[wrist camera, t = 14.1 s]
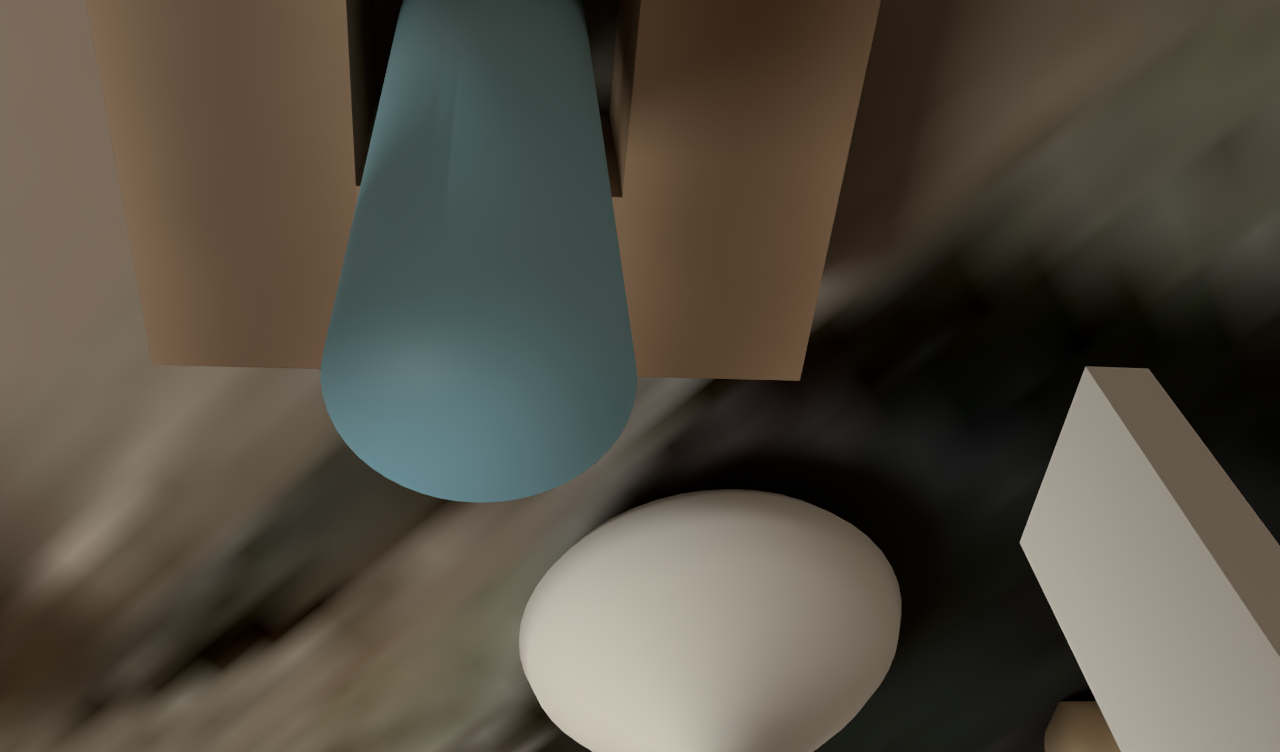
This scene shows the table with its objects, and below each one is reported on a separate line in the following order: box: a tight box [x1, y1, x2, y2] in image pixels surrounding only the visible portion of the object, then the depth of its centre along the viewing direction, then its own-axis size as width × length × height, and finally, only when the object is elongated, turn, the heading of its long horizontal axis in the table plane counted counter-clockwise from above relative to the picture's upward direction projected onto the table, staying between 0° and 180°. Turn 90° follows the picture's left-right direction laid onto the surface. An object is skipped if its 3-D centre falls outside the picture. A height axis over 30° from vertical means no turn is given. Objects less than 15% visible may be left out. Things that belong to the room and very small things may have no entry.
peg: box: [321, 0, 637, 502], centre depth 19 cm, size 4×4×14 cm
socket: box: [86, 0, 881, 381], centre depth 23 cm, size 14×14×4 cm
